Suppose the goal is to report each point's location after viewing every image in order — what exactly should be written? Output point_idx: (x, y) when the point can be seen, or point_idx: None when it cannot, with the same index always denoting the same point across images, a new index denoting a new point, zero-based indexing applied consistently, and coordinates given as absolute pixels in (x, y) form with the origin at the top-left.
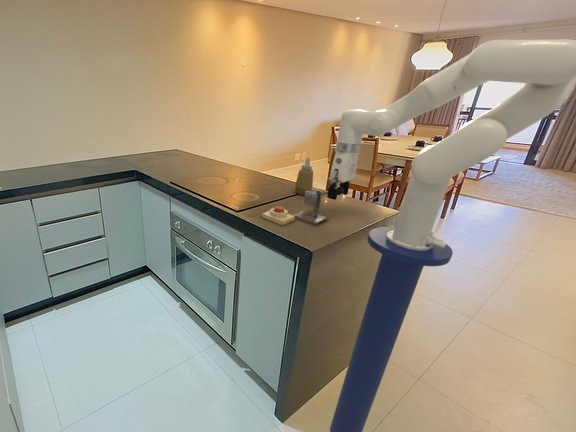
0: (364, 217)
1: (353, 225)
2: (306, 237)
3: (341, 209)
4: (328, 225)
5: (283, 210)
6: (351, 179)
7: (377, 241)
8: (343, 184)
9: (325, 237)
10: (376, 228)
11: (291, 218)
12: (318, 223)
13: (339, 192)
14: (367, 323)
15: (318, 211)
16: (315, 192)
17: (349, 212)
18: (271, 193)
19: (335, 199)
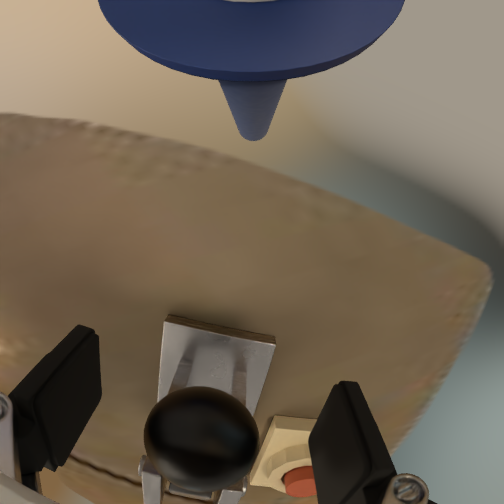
0: (17, 168)
1: (138, 177)
2: (424, 320)
3: (5, 280)
4: (231, 287)
5: (306, 472)
6: (18, 486)
7: (355, 32)
8: (55, 443)
9: (389, 258)
10: (173, 54)
11: (301, 428)
12: (248, 332)
13: (252, 422)
14: (279, 92)
15: (180, 376)
16: (199, 493)
17: (9, 242)
18: (90, 489)
19: (356, 382)
